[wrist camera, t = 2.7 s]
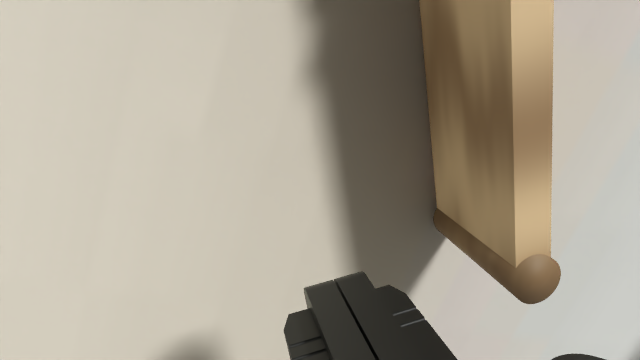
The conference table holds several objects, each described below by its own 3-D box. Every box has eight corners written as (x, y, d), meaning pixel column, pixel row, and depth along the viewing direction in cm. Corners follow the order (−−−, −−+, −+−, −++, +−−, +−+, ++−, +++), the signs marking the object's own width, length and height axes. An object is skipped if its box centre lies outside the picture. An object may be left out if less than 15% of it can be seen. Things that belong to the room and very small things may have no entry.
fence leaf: (402, -122, 14) (504, -195, 10) (449, -129, 15) (570, -202, 10) (434, 237, 19) (515, 310, 14) (470, 228, 19) (560, 295, 14)
